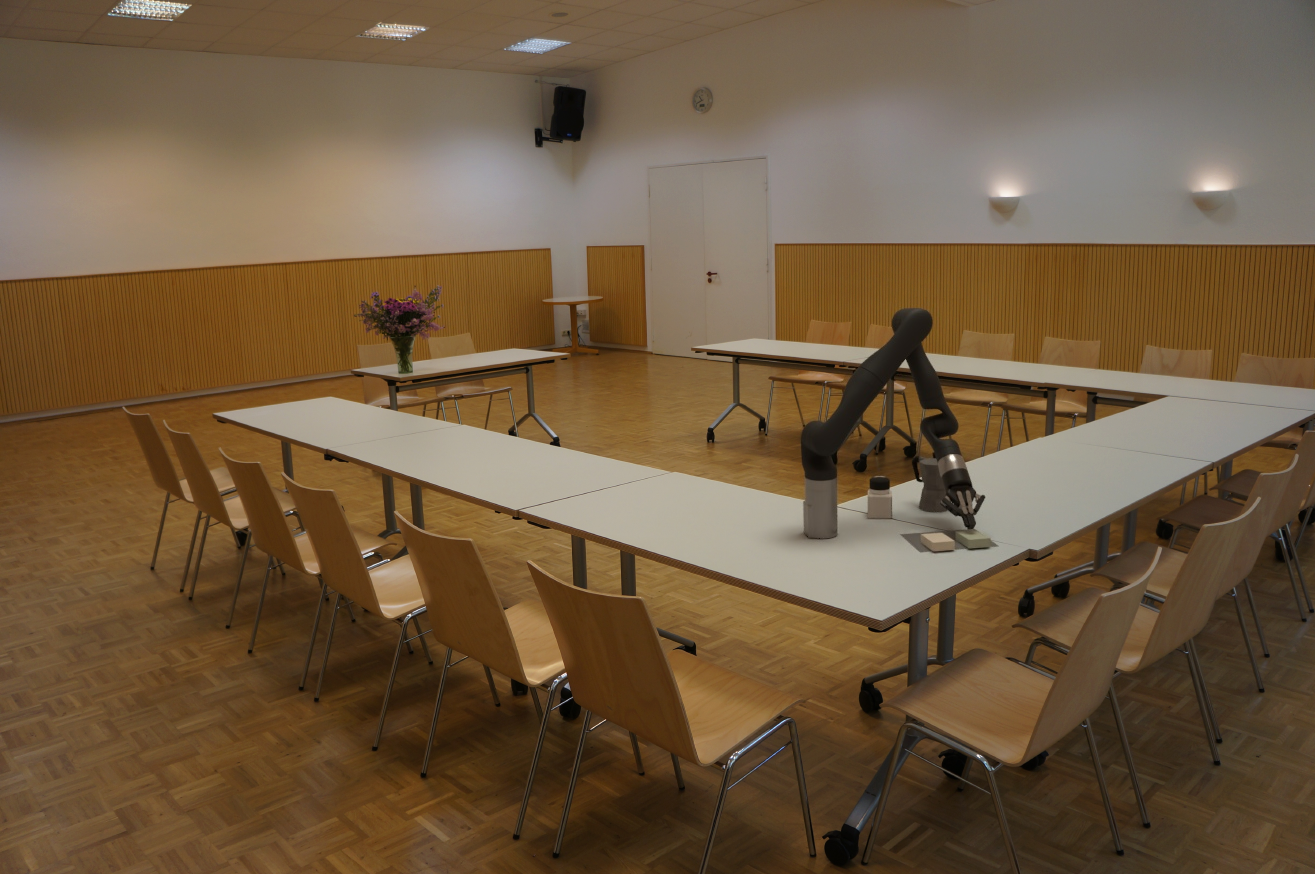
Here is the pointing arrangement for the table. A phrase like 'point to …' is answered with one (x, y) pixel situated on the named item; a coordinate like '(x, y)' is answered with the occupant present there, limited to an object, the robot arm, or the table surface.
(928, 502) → the coffeepot
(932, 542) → the plain beige block
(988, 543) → the one-dot tile
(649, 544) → the table surface
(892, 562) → the table surface
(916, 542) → the slate mat
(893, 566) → the table surface
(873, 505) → the medicine bottle
